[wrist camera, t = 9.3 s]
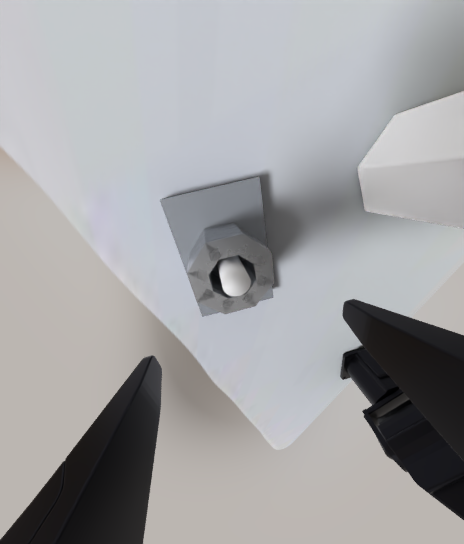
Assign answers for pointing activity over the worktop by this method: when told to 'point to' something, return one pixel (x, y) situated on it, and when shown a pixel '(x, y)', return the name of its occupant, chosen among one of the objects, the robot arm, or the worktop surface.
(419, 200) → the jar
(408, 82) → the worktop surface
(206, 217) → the block
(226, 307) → the hub ring
